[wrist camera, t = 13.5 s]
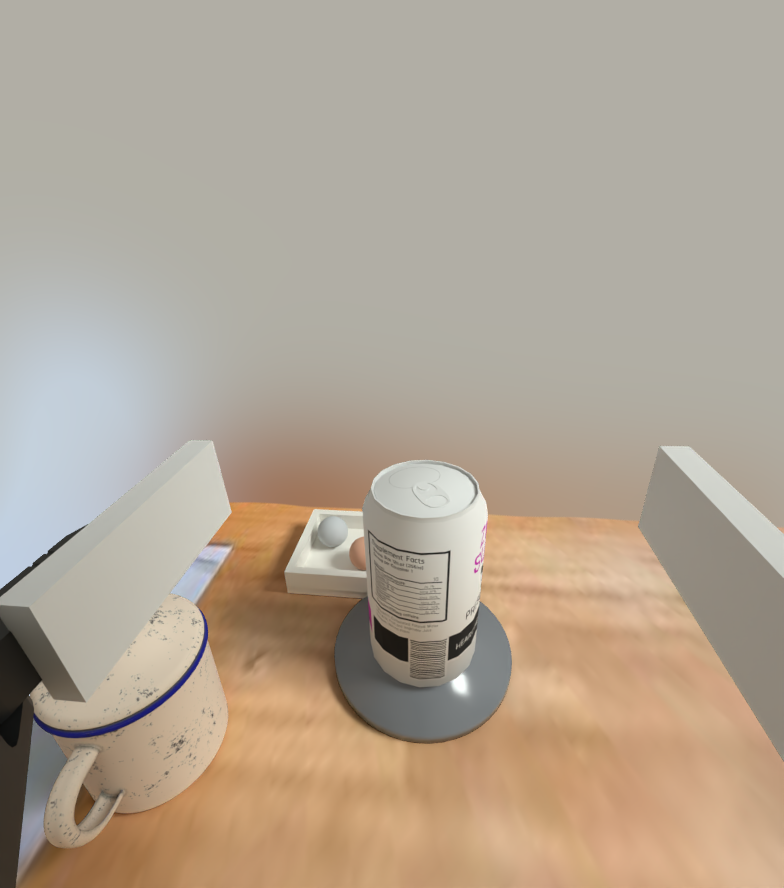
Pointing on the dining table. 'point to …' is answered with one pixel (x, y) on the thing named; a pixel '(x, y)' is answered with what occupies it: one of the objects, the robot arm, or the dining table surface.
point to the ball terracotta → (358, 553)
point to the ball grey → (332, 531)
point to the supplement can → (424, 569)
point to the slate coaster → (423, 708)
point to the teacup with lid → (137, 726)
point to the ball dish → (327, 560)
